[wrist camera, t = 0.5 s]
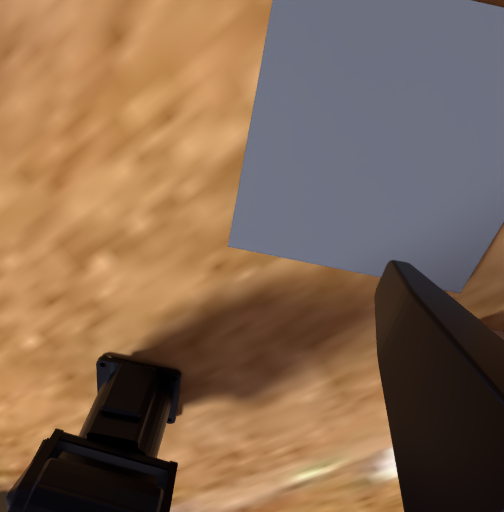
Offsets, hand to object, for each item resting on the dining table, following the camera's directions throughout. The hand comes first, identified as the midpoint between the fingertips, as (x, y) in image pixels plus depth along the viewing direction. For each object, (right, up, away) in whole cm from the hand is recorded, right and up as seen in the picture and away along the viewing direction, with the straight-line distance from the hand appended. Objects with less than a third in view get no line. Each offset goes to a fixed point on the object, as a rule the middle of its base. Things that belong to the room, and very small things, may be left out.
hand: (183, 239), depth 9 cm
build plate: (+8, +5, +13) cm, 16 cm away
